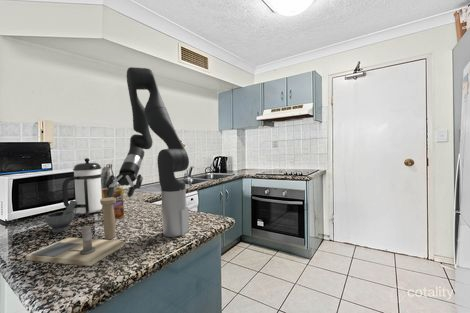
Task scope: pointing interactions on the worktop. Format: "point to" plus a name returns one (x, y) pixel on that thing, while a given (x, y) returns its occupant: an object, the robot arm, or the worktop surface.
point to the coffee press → (85, 188)
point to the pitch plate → (76, 250)
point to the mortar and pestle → (61, 218)
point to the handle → (109, 217)
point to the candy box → (118, 204)
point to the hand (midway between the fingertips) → (118, 196)
